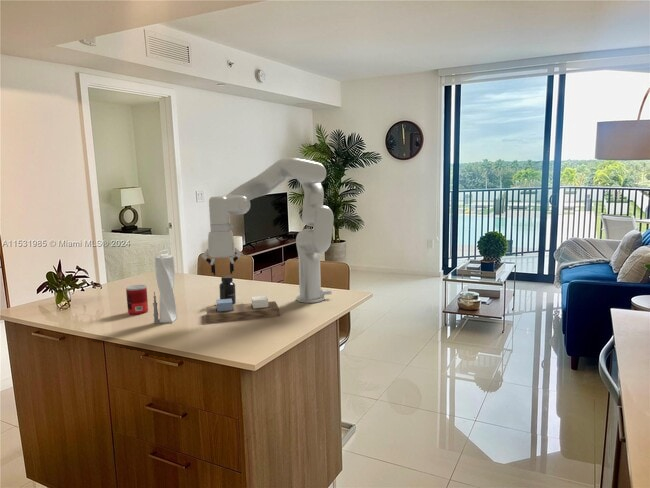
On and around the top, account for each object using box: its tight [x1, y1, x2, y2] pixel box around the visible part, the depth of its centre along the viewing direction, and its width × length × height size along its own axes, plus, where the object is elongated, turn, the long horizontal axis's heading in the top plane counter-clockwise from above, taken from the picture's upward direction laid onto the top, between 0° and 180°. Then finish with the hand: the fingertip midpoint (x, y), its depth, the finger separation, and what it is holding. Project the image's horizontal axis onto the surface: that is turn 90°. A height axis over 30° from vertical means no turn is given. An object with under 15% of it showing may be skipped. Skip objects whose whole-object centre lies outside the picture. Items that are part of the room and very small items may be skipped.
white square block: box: [251, 295, 269, 308], centre depth 193 cm, size 6×6×3 cm
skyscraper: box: [152, 249, 178, 325], centre depth 185 cm, size 8×8×28 cm
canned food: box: [125, 284, 149, 316], centre depth 199 cm, size 8×8×11 cm
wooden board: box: [206, 301, 281, 324], centre depth 192 cm, size 28×12×3 cm, turn 104°
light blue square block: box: [216, 299, 234, 312], centre depth 190 cm, size 6×6×3 cm
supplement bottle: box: [218, 275, 237, 305], centre depth 209 cm, size 7×7×12 cm
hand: (222, 273), depth 188 cm, fingers open, 5 cm apart
